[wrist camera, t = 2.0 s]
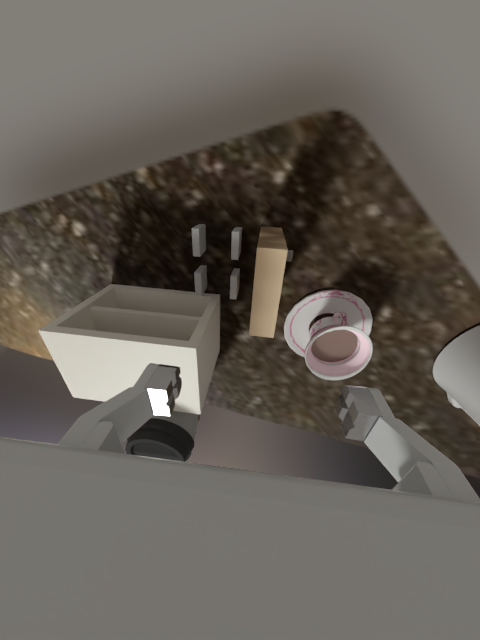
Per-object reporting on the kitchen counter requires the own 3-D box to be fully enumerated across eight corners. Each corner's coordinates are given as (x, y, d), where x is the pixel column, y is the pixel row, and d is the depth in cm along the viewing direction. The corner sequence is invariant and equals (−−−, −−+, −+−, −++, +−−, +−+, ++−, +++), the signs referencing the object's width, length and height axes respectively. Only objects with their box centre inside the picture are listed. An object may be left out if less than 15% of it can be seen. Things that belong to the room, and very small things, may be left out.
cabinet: (242, 227, 26) (224, 255, 16) (235, 351, 36) (222, 417, 26) (92, 216, 27) (-12, 235, 17) (126, 339, 37) (73, 397, 27)
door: (288, 228, 26) (298, 250, 17) (278, 295, 30) (281, 338, 22) (261, 226, 26) (257, 247, 17) (254, 292, 30) (249, 335, 22)
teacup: (358, 361, 35) (373, 392, 29) (280, 355, 36) (282, 385, 31) (383, 290, 28) (408, 314, 23) (287, 286, 30) (291, 309, 24)
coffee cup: (164, 348, 38) (111, 432, 25) (213, 351, 37) (183, 440, 24) (173, 383, 42) (131, 469, 29) (216, 386, 41) (193, 477, 28)
